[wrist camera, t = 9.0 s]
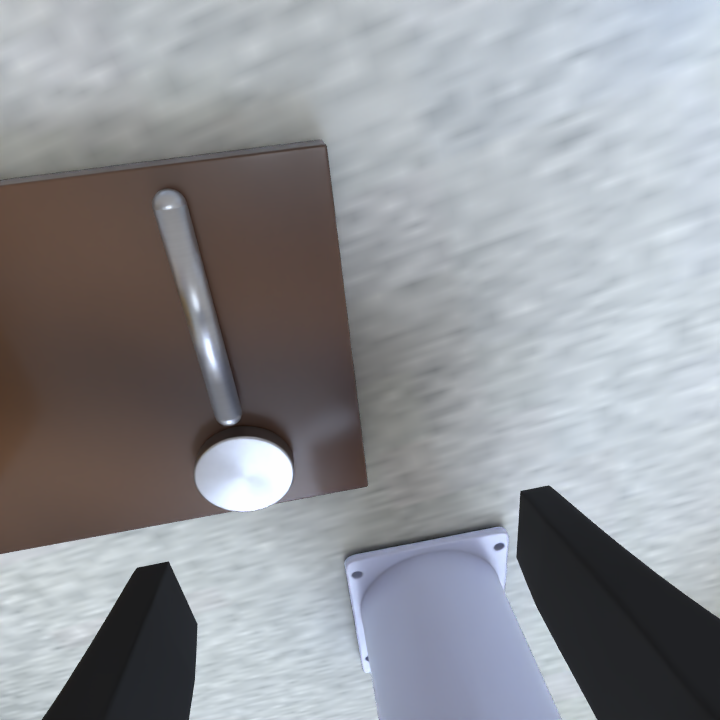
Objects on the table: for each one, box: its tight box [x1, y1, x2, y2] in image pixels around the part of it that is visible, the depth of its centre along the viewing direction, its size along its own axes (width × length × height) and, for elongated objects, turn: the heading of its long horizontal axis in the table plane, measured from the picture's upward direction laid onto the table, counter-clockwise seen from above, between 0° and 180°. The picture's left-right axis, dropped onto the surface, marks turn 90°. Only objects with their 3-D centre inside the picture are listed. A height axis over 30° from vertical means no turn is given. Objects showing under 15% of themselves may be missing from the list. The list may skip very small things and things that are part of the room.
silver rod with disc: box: [152, 189, 294, 512], centre depth 17 cm, size 12×4×1 cm, turn 6°
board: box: [0, 140, 368, 554], centre depth 17 cm, size 13×20×1 cm, turn 96°
